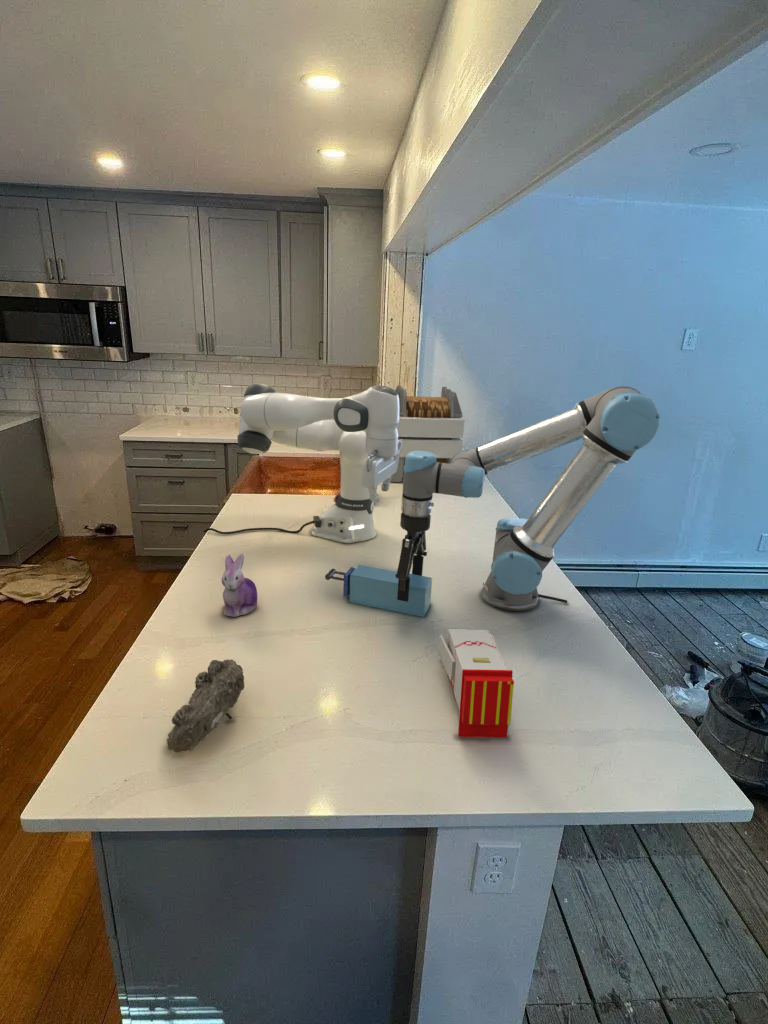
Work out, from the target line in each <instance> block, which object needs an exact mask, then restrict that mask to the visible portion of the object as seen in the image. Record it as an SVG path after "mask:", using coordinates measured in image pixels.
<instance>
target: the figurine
mask: <svg viewBox="0 0 768 1024" xmlns="http://www.w3.org/2000/svg"><path fill="white" fill-rule="evenodd" d="M244 563H245V554H244V553H240V554H239V555H238V556H237V558H236V559H235V560H234V558H233V557H232V555H231V554H227V555H226V556H225V560H224V564H225V565H224V566H225V567H224V568H225V570H224V572H223V574H222V576H221V579H220V580H221V584H222V586H223V587H224V589H223V591H222V599H223V603H224V611H223V613H224V615H225V616H228V617H234V618H236V617H239V616H245V615H248V614H249V613H251V612H253V611H254V610H256V609H257V606H258V590H257V589H258V588H257V586H256V584H255V583H254V581H253V580H252V579H250V578H248V577H245V575H244V573H243V571H242V569H243V566H244Z"/></svg>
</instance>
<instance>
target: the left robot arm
mask: <svg viewBox="0 0 768 1024" xmlns="http://www.w3.org/2000/svg"><path fill="white" fill-rule="evenodd" d="M395 390H396V389H394V388H392V387H389V386H385V385H381V384H380V385H379V384H374V385H371V386H370V387H368V389H366V390H364V391H361V392H359V393H356V394H353V395H349V396H345V397H317V396H316V397H315V396H309V395H308V396H307V395H301V394H294V393H286V392H277V391H276V390H275V389H274V388H272V387H271V386H269V385H267V384H262V383H252V384H250V385H248V386H247V388H246V389H245V391H244V394H243V397H244V398H243V401H242V403H241V405H240V413H239V423H238V434H237V438H236V439H237V440H236V441H237V445H238V447H239V449H241V450H243V451H244V452H245V453H247V454H251V455H261V454H266V453H267V452H269V449H270V448H271V445H272V443H273V442H274V443H277V444H280V445H283V446H287V447H291V448H297V449H302V450H303V449H304V450H310V451H316V452H327V451H339V469H340V488H339V489H340V490H339V491H338V492H337V494H336V495H335V496H334V497H333V502H334V504H333V505H331V506H329V507H328V508H326V509H325V510H323V512H321V514H320V515H313V516H312V517H313V519H312V520H311V521H308V522H306V523H303V524H302V525H301V526H300V528H299V529H298V530H288V529H284V528H281V527H250V528H249V527H248V528H244V529H243V528H242V529H238V530H232V531H221V530H218V529H216V528H213V527H208V528H207V527H206V528H205V529H204V530H203V533H207V532H208V531H211V532H215V533H217V534H220V535H232V534H238V533H244V532H252V531H278V532H283V533H290V534H298V533H300V532H302V531H303V529H304V528H305V527H307V526H309V525H312V524H313V526H312V528H311V530H310V533H311V536H315V537H319V538H323V539H326V540H330V541H336V542H339V543H343V544H352V543H357V542H365V541H368V540H372V539H373V538H375V537H376V535H377V532H376V528H375V523H374V513H373V512H374V509H375V501H376V500H378V496H379V495H378V493H377V489H378V486H380V485H381V491H382V492H388V491H389V490H390V483H391V475H393V474H394V473H395V472H396V471H397V468H398V463H399V454H400V451H399V450H400V449H401V447H402V442H401V441H399V440H398V432H397V427H398V424H399V415H400V406H399V396H398V394H397V392H396V391H395Z"/></svg>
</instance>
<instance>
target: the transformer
mask: <svg viewBox="0 0 768 1024" xmlns="http://www.w3.org/2000/svg"><path fill="white" fill-rule="evenodd" d="M394 390H395V391H396V392H397V394H398V396H399V406H400V415H399V424H398V427H397V432H398V440H399V441H401V442H402V447H401V449H400V450H399V451H400V454H399V463H398V468H397V471H396V472H395V473H394V474H393V475H391V480H390V483H403V476H404V467H405V459H406V455H407V454H408V453H409V452H412V451H427V452H431V453H433V454H435V455H436V460H437V462H440V463H445V464H450V463H451V460H452V458H453V457H454V456H455V455H456V454H457V453H458V452H460V451H462V450H463V442H464V441H463V440H462V439H463V438H464V431H465V430H464V429H465V419H464V418H463V411H462V408H461V405H460V402H459V398H458V395H457V392H455V391H453V390H452V389H451V388H447V386H442V387H441V392H440V393H441V394H440V396H415V395H414V396H413V395H412V396H411V395H407V394H408V393H407V390H406V389H404V388H403V387H402V385H399V384H398V385H397V386H396V388H395V389H394Z"/></svg>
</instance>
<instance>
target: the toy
mask: <svg viewBox="0 0 768 1024" xmlns="http://www.w3.org/2000/svg"><path fill="white" fill-rule="evenodd" d="M446 640H447V643H446V641H445V639H444V636H443V635H442V634H439V637H438V646H437V656H438V657H439V659H440V661H441V663H442V666H443V668H444V670H445V672H446V674H447V677H448V679H449V681H450V684H451V687H452V690H453V693H454V697H455V701H456V705H457V708H458V711H459V714H458V715H459V716H458V730H457V731H458V732H457V737H458V738H508V731H509V726H510V725H511V717H512V707H513V697H514V696H513V695H514V684H515V680H514V679H513V673H514V671H513V670H512V669H508V667H507V665H506V662H505V661H504V659H503V658H502V655H501V653H500V651H499V649H498V647H497V643H496V639H495V637H494V635H493V634H491V632H490V631H489V629H467V628H466V629H465V628H463V629H461V628H460V629H459V628H448V630H447V639H446Z"/></svg>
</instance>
